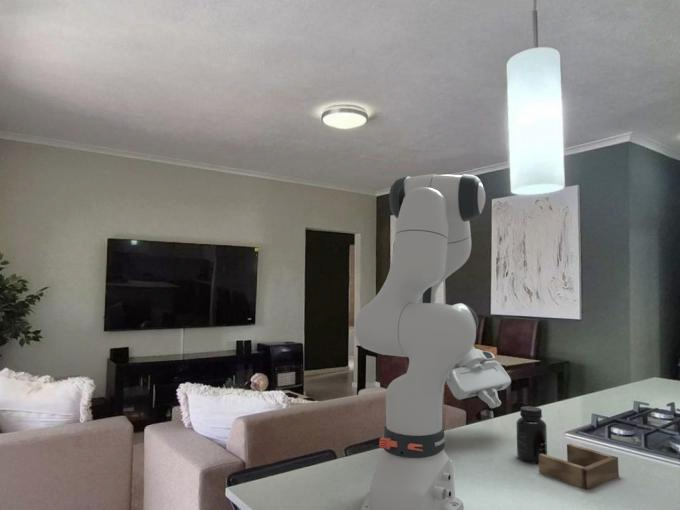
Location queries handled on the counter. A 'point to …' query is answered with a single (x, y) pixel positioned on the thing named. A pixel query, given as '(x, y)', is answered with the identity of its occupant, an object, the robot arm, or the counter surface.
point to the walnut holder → (580, 467)
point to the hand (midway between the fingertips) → (496, 406)
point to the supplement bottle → (531, 435)
